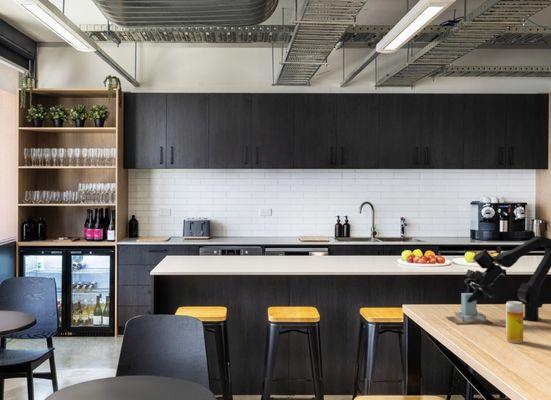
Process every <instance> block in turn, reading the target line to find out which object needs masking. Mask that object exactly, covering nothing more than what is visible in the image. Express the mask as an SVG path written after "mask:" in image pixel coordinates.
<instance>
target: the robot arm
mask: <svg viewBox="0 0 551 400" xmlns="http://www.w3.org/2000/svg"><path fill="white" fill-rule="evenodd" d="M541 246H542V247H544V255H543V257H542V259H541V260H540V262H539V264H537V265H538V266H537V267H536V269H535V270H534V272H533V274H532V276H531V277H530V279H529V280H528V282H527V283H526V282H525V283H524V282H522V283H521V284H520V286H519V288H517V293H516V295H517V297H518V300H520V302H521V303H522V305H523V306H524V307H523V321H530V322H539V321H541V320H542V317H540V316H539V315H540V313H539V310H540V309H539V308H542V307H543V304H544V302H543V301H542V300H541V299H540V298H539V295H540V287H541V285H542V284H543V282H544V280H545V278H546V277H547V275H548V274H549V271H550V270H551V238H548V237H545V236H544V235H535V236H533V238H531V239H529V240H527V241H525V242H523V243H522V244H520V245H518V246H517V247H515V248H512V249H511V250H505V251H503V252H500V253H498V254H496V255H494V256H492V255H491V254H490V253H489V251H488V250H487V249H483V250H482V251H478V252H477V253H475V255H474V256H473V261H474V262H475V263H476V264H477V265H478V266H479V267H480V268H481V269H483V270H484V269H485V270H484V272H481V271H480V270H475V271H474V270H471V269H467V272H466V274H465V275H464V276H466V277H467V278H465V279H464V281H463V282H464V284H466V287H467V290H466V292H465V293H473V294H472V295H471V296H470V298H469V299H468V301H467V302H468V303H470V302H473V301H476V300H477V301H478V300H480V299H481V300H482V299H485V298H487V297H488V298H493V297H494V296H495V291H494V289H492V287H490V286H491V285H495V284H496V282H495V281H496V280H497V279H498V278H499V277H500V276H507V268H511V267H512V266H514V265H515V264H516V263H517V262H518V261H519V259H520V258H522V257H524V256H525V255H527V254H529V253H530V252H533V251H534V250H537V248H539V247H541ZM502 267H503V268H502ZM505 268H506V269H505Z"/></svg>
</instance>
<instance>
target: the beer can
mask: <svg viewBox="0 0 551 400" xmlns="http://www.w3.org/2000/svg"><path fill="white" fill-rule="evenodd" d="M523 317H524V304H522V303H521V301H517V300H508V301H506V303H505V340H506V341H507V342H508V343H509V344H510V343H511V344H521V343H523V341H524V319H523Z"/></svg>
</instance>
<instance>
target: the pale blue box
mask: <svg viewBox="0 0 551 400" xmlns="http://www.w3.org/2000/svg"><path fill="white" fill-rule="evenodd" d="M472 294H473V293H466V292H463V293H462V292H461V295H460V296H461V298H460V300H461V303H460V304H461V312H462V315H463V316H476V314H477V312H478V309H477V303H478V300H476V301H473V302H470V303H468V302H467V301H468V299H469V298H470V296H471V295H472Z"/></svg>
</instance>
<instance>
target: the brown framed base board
mask: <svg viewBox="0 0 551 400" xmlns="http://www.w3.org/2000/svg"><path fill="white" fill-rule="evenodd" d="M445 319H447V320H448V321H450V322H452V323H454V324H455V325H459V326H461V325H490V324H494V322H493V321H491V320H490V319H487V315H486V314H483V313H482V312H480V311H477V314H476V316H463V315H462V311H455V312H454V316H445Z"/></svg>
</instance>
